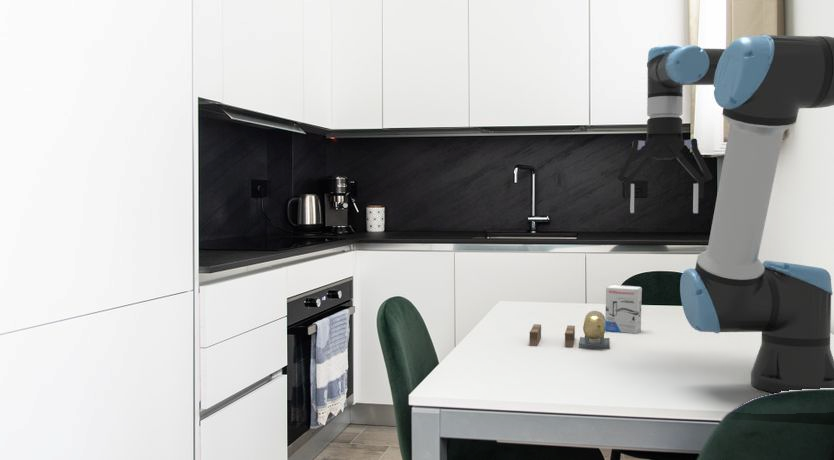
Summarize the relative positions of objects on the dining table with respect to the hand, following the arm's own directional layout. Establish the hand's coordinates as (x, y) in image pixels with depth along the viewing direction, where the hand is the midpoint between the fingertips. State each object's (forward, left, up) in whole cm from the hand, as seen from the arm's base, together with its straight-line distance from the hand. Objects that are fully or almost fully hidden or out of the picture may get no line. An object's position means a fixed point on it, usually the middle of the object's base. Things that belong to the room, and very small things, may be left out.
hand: (663, 213), depth 185 cm
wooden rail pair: (+10, +25, -32) cm, 42 cm away
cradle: (+8, +15, -32) cm, 36 cm away
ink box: (+30, +8, -32) cm, 45 cm away
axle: (+8, +15, -27) cm, 32 cm away
